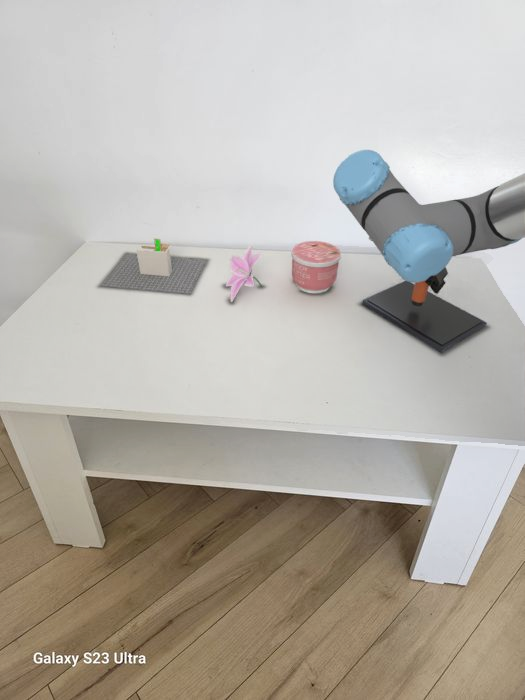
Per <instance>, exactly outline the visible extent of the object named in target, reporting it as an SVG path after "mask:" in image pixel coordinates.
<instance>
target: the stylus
mask: <svg viewBox="0 0 525 700" xmlns="http://www.w3.org/2000/svg"><path fill="white" fill-rule="evenodd" d="M425 281H426V280H425ZM425 281H422V282H415V283H414V284H415V286H414V290H413V294H412V302H411V303H412V304H413V305H415V306H422V305H423V302H424V301H425V298H426V294H427V291H428V290H429V287H430V286H429V285H428V284H427V283H425ZM428 292H429V291H428Z"/></svg>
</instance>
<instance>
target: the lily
mask: <svg viewBox="0 0 525 700" xmlns="http://www.w3.org/2000/svg"><path fill="white" fill-rule="evenodd" d="M252 250H253V243H251V244H250V245H249V246H248V247H247V249H246V251H245V253H244V255H243V256H241V255H237V254H234V255H233V254H232V255H231V256H230V259H229V265H230V271H231V273H232V274H231V276H230V277H229V278H228V280H227V282H226V284H225V287H231V288H230V302H231V303H233V302H234V300H235V298H236V296H237V294H238V292H239V291H240V289H241V288H242V287H243V285H244V286H246V287H250V288H253V287H254V285H255V283H254V280H255V281H256V282H257V283H258V285H259V287H261V288H263V285H262V284H261V282H260V281H259V280H258V278H257V277H255V276H254V275H253V268H254V267H255V265H256V264H257V262H258V261H259V260H260V258H261V257H262V255H263V253H262V252H256V253H253V254H252Z"/></svg>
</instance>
